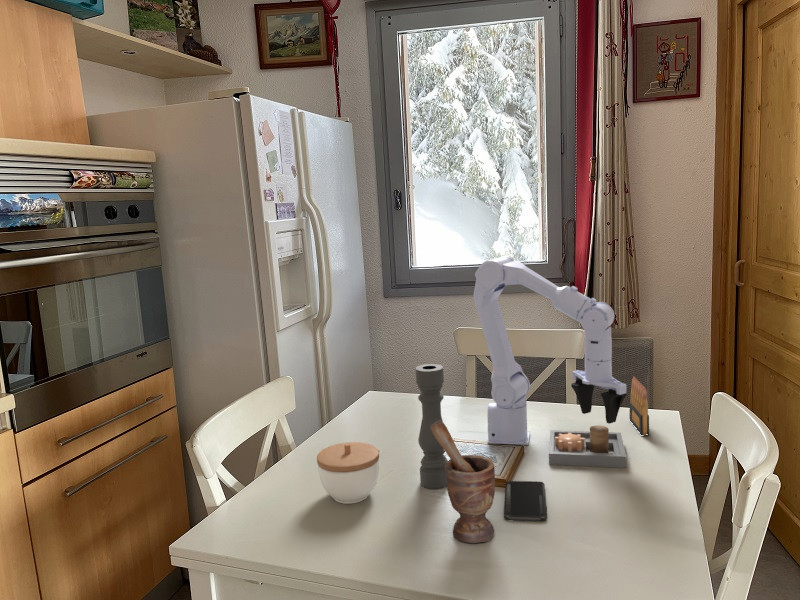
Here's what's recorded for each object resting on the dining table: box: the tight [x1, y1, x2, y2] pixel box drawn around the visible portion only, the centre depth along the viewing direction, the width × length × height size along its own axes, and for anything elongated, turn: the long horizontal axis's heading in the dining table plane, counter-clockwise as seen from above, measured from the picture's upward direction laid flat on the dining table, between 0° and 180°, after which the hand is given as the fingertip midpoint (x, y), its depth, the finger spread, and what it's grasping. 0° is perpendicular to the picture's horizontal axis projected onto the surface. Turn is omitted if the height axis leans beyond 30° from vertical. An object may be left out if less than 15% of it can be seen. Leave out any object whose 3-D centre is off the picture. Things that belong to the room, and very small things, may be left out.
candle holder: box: [415, 363, 449, 490], centre depth 135 cm, size 6×6×25 cm
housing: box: [548, 429, 627, 469], centre depth 147 cm, size 16×14×4 cm
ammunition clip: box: [628, 375, 650, 436], centre depth 159 cm, size 11×2×12 cm, turn 175°
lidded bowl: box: [316, 441, 380, 505], centre depth 132 cm, size 13×13×11 cm
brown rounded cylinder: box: [589, 424, 610, 453], centre depth 146 cm, size 4×4×6 cm
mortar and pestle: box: [430, 420, 496, 544], centre depth 115 cm, size 12×9×20 cm
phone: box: [503, 480, 548, 523], centre depth 126 cm, size 8×1×15 cm
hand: (598, 417), depth 145 cm, fingers open, 7 cm apart
